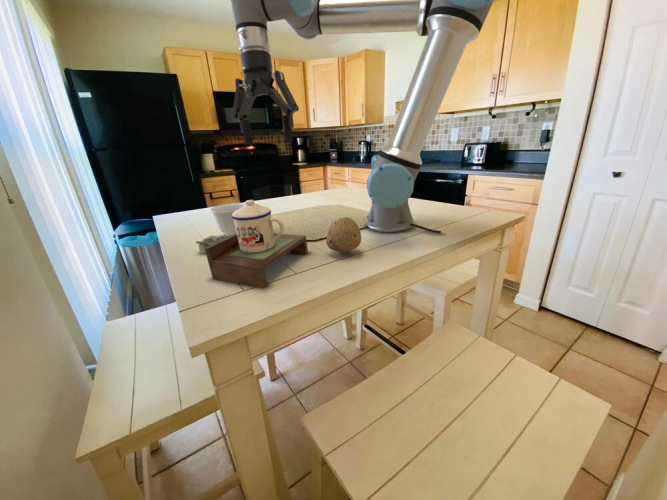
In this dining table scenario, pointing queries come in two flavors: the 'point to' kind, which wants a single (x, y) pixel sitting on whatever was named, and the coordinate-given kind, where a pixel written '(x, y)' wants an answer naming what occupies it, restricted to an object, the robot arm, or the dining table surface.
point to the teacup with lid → (255, 227)
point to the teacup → (226, 217)
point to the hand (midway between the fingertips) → (268, 143)
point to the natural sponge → (343, 235)
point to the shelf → (249, 259)
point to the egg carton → (210, 242)
